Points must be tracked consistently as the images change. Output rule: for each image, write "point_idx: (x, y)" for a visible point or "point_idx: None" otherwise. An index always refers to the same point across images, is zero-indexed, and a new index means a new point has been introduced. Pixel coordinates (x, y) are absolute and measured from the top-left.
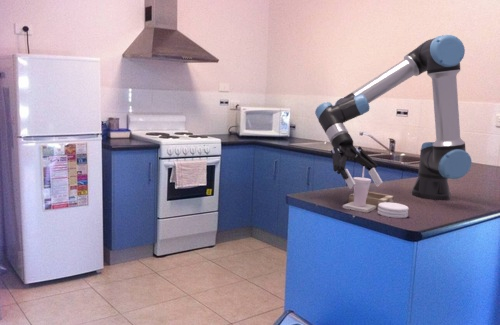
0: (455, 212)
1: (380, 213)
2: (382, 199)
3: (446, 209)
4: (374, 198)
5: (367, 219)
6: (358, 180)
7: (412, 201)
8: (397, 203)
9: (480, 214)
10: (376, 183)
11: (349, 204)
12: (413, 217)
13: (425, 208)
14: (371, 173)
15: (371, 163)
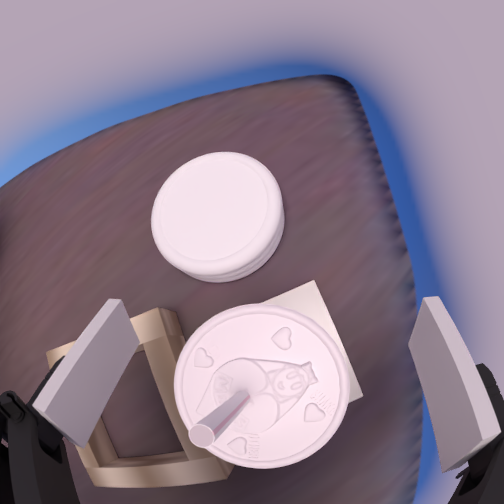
0: (37, 195)
1: (282, 230)
2: (139, 329)
3: (24, 226)
4: (159, 364)
5: (392, 199)
6: (340, 364)
7: (12, 336)
8: (157, 228)
9: (25, 171)
10: (127, 347)
11: None
12: None
13: (46, 254)
14: (84, 412)
15: (10, 446)
